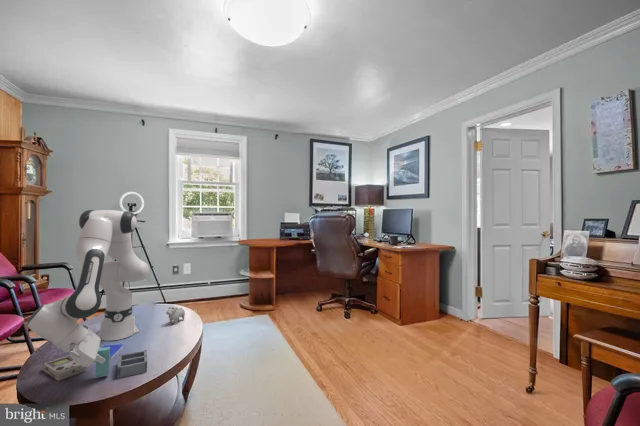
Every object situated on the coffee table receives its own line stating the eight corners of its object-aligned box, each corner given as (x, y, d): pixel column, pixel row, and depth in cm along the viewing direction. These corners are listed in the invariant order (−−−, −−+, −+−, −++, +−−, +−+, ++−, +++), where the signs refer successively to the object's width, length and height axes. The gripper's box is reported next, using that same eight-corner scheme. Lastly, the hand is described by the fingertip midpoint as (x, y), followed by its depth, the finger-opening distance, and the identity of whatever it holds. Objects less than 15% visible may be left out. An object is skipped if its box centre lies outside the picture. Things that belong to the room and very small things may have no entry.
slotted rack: (118, 364, 122) (119, 355, 122) (145, 359, 127) (146, 350, 127) (116, 378, 112) (117, 368, 112) (146, 371, 117) (147, 362, 117)
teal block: (96, 374, 112) (97, 348, 112) (108, 371, 114) (110, 346, 114) (95, 377, 110) (96, 351, 110) (108, 374, 112) (109, 349, 112)
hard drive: (111, 356, 127) (123, 344, 139) (90, 357, 125) (104, 345, 137) (111, 359, 127) (123, 347, 139) (90, 361, 125) (104, 348, 137)
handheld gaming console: (59, 373, 108) (42, 362, 115) (58, 382, 108) (42, 371, 115) (88, 363, 116) (71, 353, 123) (87, 371, 116) (70, 361, 123)
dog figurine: (162, 326, 165) (163, 307, 165) (178, 318, 177) (179, 301, 177) (170, 327, 163) (171, 308, 164) (186, 319, 176) (186, 302, 176)
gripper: (76, 342, 100) (110, 364, 105) (85, 322, 117) (114, 342, 122) (59, 358, 97) (94, 379, 102) (70, 335, 114) (100, 354, 120)
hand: (104, 359), depth 112 cm, fingers closed on teal block, 2 cm apart
